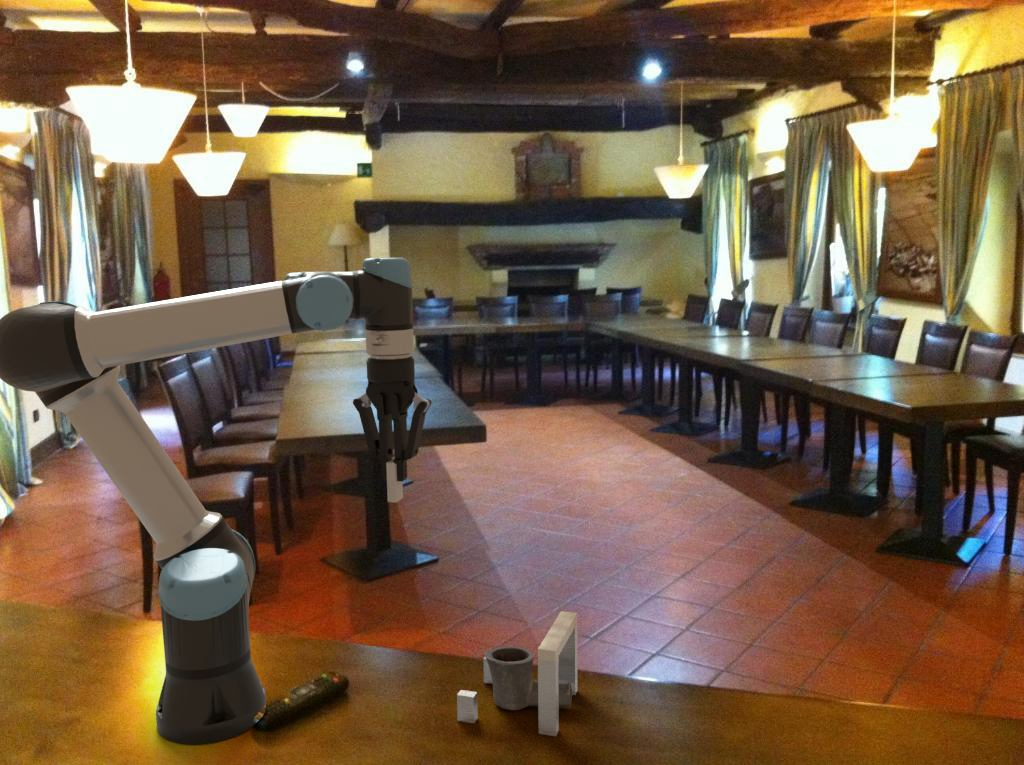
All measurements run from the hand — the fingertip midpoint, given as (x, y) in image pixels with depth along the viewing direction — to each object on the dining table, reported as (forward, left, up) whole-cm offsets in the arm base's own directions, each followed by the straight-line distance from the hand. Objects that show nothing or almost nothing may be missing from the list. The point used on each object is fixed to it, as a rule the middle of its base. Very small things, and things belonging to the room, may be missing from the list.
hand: (395, 499), depth 143 cm
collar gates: (+24, -11, -26) cm, 37 cm away
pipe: (+25, -11, -27) cm, 38 cm away
